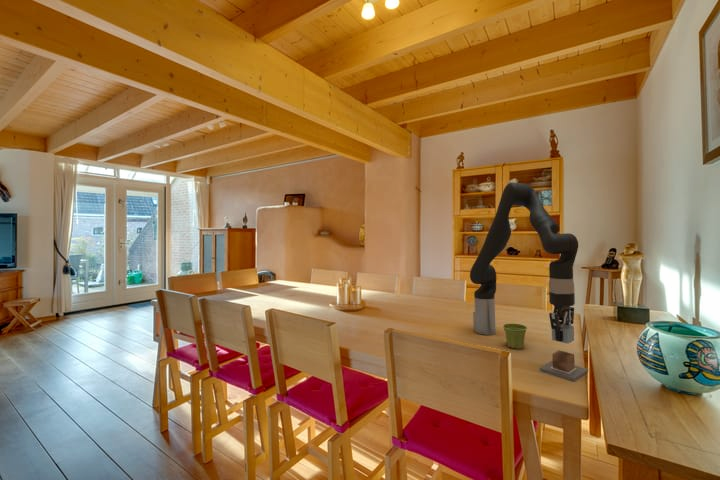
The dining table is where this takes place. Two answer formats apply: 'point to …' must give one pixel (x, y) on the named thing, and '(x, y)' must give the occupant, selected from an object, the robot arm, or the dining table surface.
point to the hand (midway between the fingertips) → (562, 338)
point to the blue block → (565, 334)
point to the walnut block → (563, 361)
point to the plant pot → (515, 335)
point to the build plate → (571, 375)
